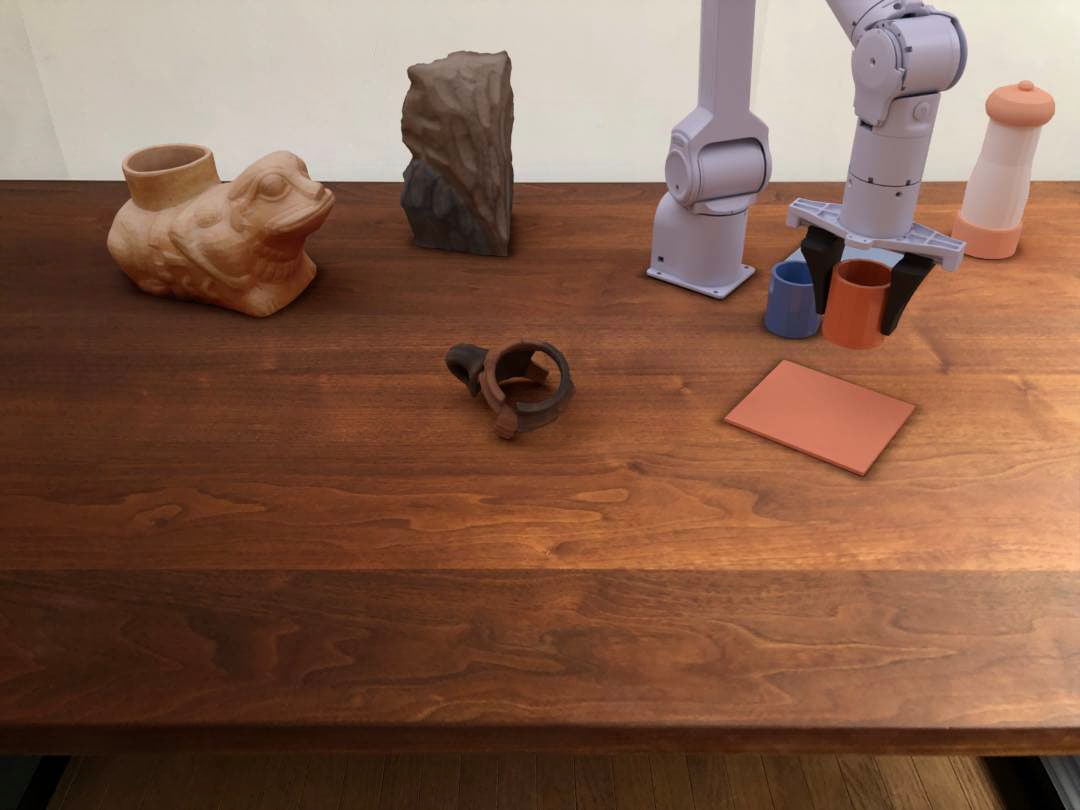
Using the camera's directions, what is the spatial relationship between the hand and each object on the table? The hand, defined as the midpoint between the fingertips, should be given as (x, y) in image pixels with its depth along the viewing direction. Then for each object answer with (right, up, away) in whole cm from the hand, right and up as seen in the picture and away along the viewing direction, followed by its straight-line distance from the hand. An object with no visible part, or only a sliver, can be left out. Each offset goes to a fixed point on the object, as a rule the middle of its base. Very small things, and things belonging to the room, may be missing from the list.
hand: (855, 319), depth 92 cm
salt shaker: (+24, +11, +31) cm, 41 cm away
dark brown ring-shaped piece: (-30, -8, +3) cm, 31 cm away
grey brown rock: (-36, +12, +32) cm, 49 cm away
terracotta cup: (0, -1, +1) cm, 1 cm away
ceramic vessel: (-61, +6, +23) cm, 66 cm away
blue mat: (+8, +8, +26) cm, 29 cm away
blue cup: (-2, +1, +16) cm, 16 cm away
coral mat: (-2, -8, +3) cm, 9 cm away
